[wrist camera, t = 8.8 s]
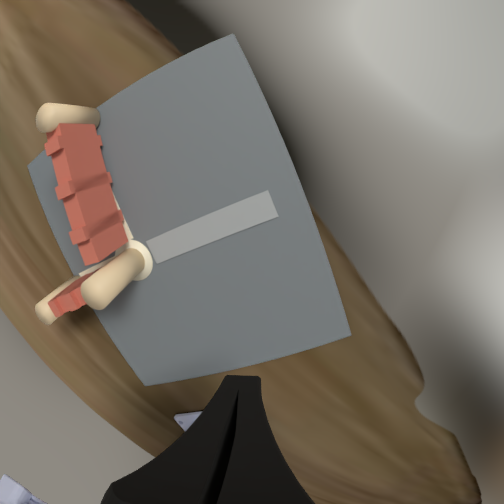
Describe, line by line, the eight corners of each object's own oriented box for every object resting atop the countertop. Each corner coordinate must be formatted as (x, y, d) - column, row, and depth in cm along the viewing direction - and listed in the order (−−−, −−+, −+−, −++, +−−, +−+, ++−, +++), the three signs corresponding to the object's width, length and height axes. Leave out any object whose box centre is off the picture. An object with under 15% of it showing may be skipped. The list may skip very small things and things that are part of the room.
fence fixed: (139, 242, 21) (96, 275, 15) (151, 266, 21) (113, 305, 16) (69, 276, 22) (27, 308, 17) (80, 296, 23) (40, 331, 17)
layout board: (350, 333, 22) (351, 335, 21) (146, 384, 26) (144, 386, 25) (233, 35, 15) (233, 32, 15) (29, 165, 19) (26, 165, 19)
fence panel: (134, 238, 20) (98, 263, 15) (115, 243, 20) (77, 269, 16) (97, 103, 17) (53, 97, 12) (79, 114, 17) (34, 111, 13)
